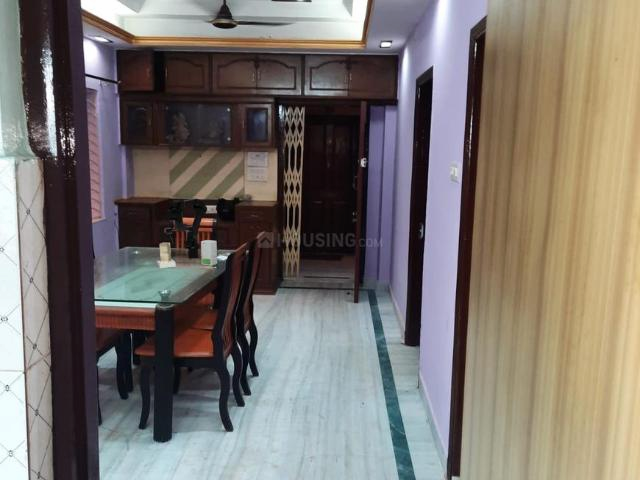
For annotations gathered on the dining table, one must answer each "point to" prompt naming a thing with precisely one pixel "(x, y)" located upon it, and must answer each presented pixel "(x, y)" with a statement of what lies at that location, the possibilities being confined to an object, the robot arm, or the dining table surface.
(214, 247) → the skincare box
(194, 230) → the robot arm
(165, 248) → the maple pillar block
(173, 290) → the dining table surface
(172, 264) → the off-white base block
